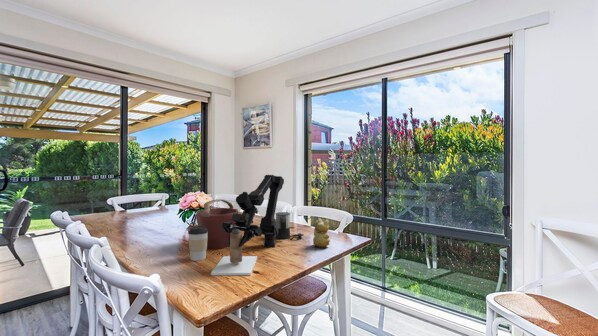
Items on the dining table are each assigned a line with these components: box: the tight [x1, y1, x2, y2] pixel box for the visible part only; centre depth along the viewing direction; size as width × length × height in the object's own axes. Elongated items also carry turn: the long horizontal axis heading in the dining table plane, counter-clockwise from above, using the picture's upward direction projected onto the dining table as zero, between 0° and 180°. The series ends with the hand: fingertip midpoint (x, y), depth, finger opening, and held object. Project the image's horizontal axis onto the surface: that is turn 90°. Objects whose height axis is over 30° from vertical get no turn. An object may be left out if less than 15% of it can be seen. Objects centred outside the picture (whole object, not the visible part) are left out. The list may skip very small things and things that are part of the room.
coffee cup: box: [187, 225, 208, 262], centre depth 133 cm, size 9×9×15 cm
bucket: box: [195, 198, 239, 250], centre depth 155 cm, size 24×22×25 cm
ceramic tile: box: [210, 255, 258, 276], centre depth 124 cm, size 20×16×1 cm
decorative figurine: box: [312, 218, 331, 249], centre depth 152 cm, size 10×8×15 cm
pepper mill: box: [229, 228, 243, 263], centre depth 124 cm, size 5×5×14 cm
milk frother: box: [275, 211, 305, 240], centre depth 170 cm, size 14×16×15 cm
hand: (234, 246), depth 122 cm, fingers closed on pepper mill, 5 cm apart
